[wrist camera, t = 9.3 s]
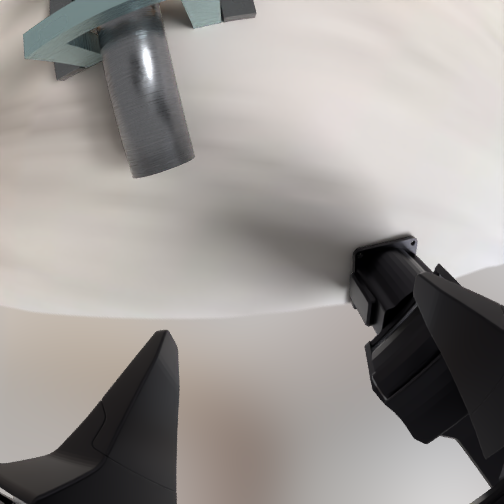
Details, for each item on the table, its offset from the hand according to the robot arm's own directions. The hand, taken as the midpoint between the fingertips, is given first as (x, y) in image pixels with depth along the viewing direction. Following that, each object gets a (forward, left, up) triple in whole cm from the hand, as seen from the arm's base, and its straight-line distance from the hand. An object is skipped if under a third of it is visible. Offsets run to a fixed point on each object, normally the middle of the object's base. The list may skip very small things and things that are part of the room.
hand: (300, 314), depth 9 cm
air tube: (+5, -13, -12) cm, 18 cm away
